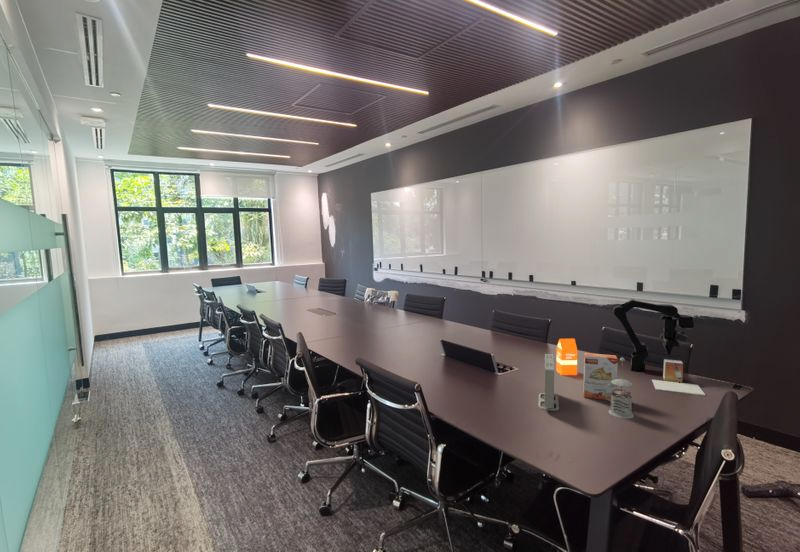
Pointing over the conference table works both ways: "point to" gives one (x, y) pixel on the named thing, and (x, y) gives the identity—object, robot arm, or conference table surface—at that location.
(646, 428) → the conference table surface
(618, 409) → the french press
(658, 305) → the robot arm
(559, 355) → the orange juice
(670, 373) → the small box
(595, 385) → the cracker box
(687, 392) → the grey mat
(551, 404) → the network device
